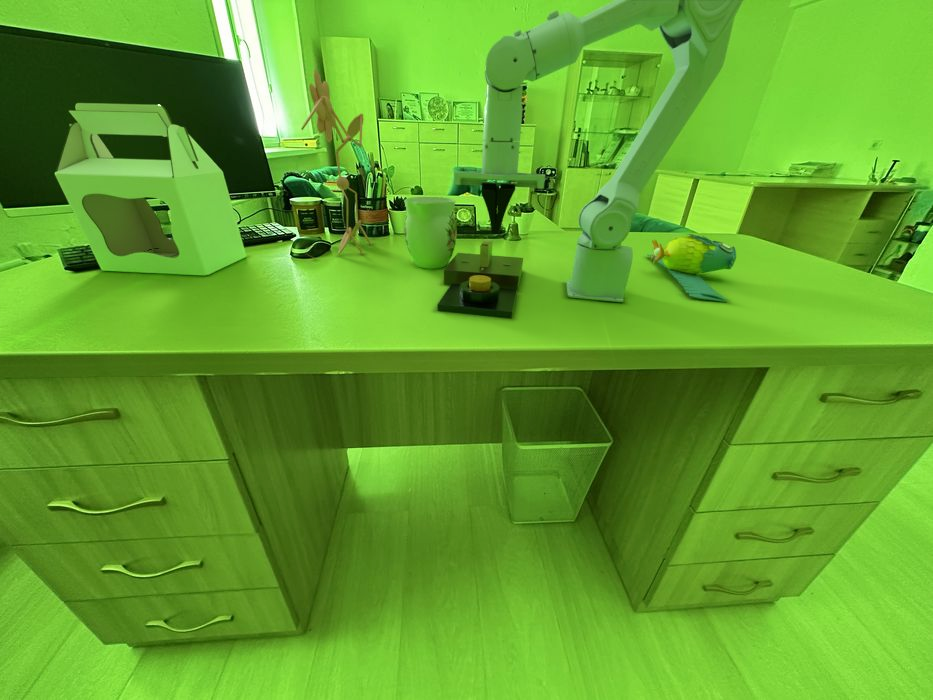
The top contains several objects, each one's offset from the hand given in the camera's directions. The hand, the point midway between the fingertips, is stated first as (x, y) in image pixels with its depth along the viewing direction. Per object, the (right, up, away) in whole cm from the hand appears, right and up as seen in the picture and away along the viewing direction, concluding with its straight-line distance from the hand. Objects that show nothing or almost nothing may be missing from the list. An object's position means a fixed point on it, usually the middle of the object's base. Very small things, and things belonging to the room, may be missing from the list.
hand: (496, 231), depth 64 cm
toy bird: (+41, -5, +14) cm, 44 cm away
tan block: (-1, -3, +9) cm, 9 cm away
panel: (-1, -6, +10) cm, 12 cm away
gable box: (-66, -3, +14) cm, 67 cm away
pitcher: (-13, -1, +18) cm, 22 cm away
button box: (-3, -12, -1) cm, 13 cm away
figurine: (-36, +4, +27) cm, 45 cm away
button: (-3, -10, -2) cm, 11 cm away
